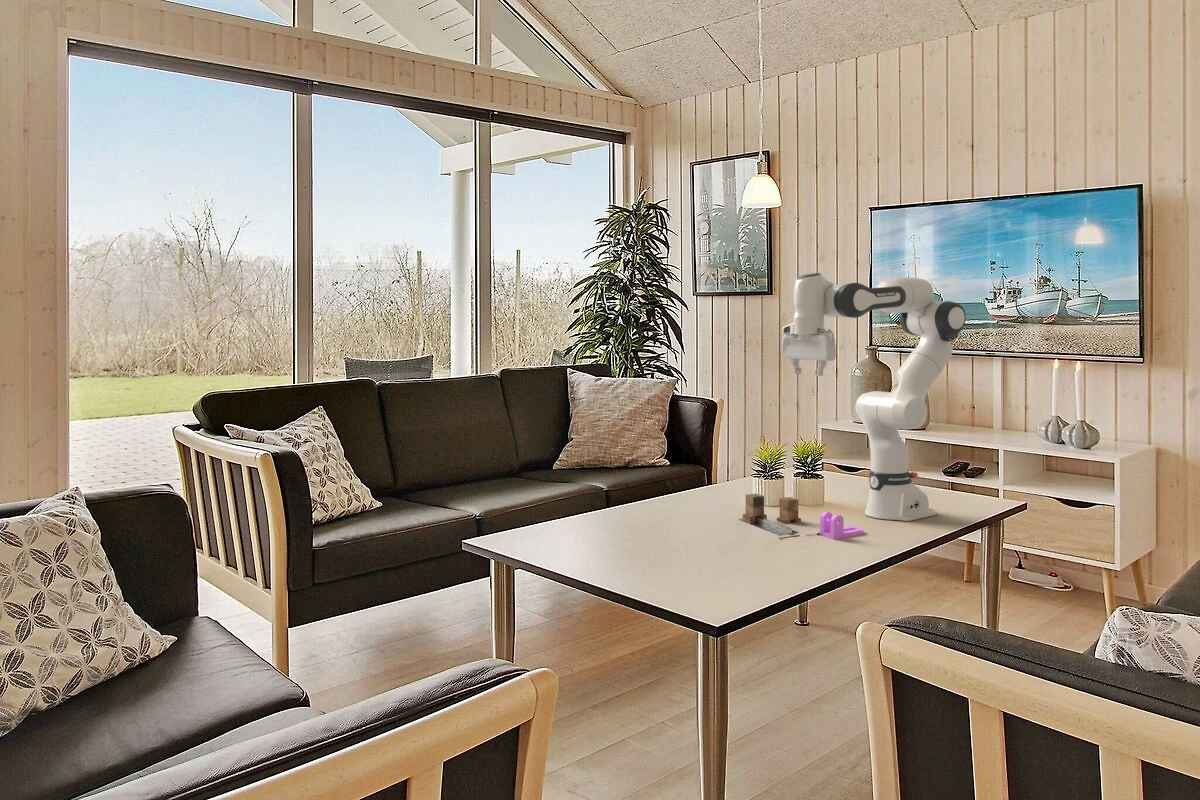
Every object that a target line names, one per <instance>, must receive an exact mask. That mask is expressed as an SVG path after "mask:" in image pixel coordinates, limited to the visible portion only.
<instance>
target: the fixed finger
mask: <svg viewBox="0 0 1200 800" xmlns="http://www.w3.org/2000/svg"><path fill="white" fill-rule="evenodd" d="M755 516H758V517H761V518H764V519H767V518H768V515H767V514H766V513H765V495H762V494H760V493H749V494H745V513H743V514H742V519H743V521H745V522H748V523H755ZM767 520H768V519H767ZM743 521H742V522H743ZM745 522H744V523H745ZM748 523H747V524H748Z"/></svg>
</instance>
